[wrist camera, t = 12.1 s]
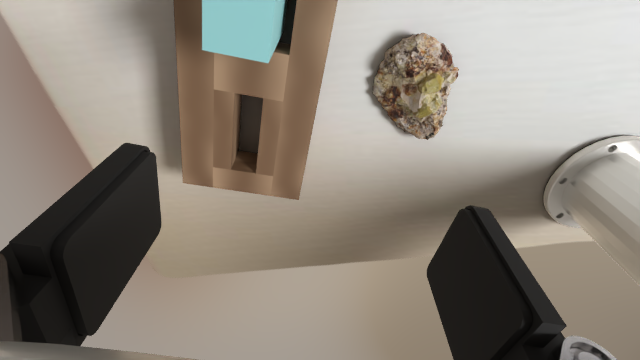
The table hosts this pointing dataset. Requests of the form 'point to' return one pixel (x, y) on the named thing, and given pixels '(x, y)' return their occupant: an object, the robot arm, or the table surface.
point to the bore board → (253, 80)
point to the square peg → (243, 27)
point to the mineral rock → (416, 84)
